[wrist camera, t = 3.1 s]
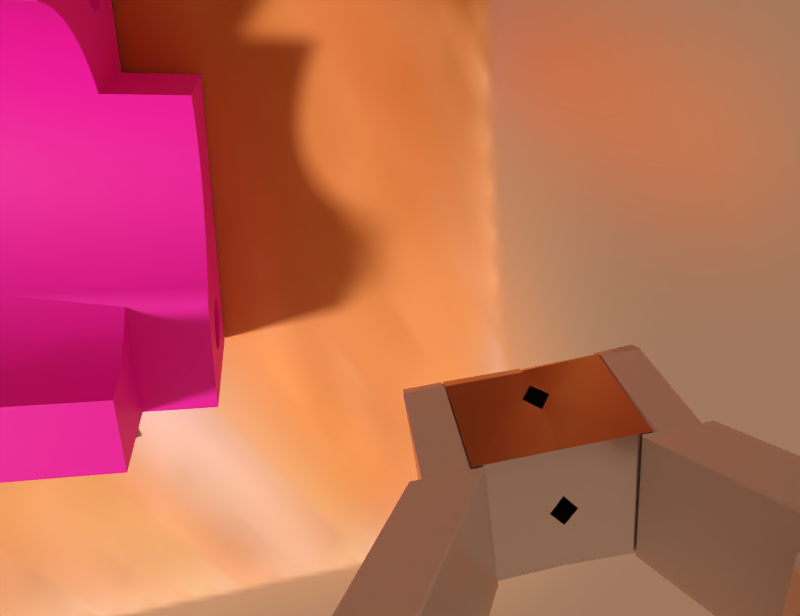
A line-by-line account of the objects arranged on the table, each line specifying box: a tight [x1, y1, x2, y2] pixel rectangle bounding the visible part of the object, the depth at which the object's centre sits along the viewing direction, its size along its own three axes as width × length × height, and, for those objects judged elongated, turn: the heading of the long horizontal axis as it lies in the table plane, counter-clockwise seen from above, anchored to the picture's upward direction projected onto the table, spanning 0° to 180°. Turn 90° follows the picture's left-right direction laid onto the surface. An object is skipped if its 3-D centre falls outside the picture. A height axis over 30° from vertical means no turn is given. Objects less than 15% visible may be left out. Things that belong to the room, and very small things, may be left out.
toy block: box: [0, 0, 224, 483], centre depth 20 cm, size 15×6×8 cm, turn 177°
